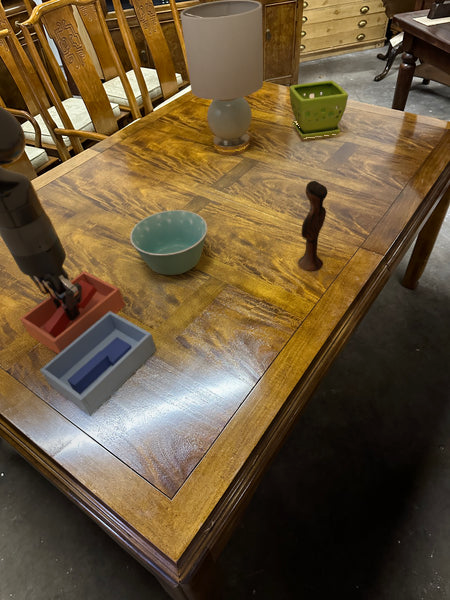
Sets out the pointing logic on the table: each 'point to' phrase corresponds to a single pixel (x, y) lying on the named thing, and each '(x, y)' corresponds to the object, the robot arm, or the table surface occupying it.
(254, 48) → the lamp
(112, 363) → the blue bar
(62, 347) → the red bin
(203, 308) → the table surface
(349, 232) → the table surface
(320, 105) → the flower pot
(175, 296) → the table surface
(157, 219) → the bowl
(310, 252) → the figurine
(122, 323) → the blue bin
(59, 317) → the red stepped block
